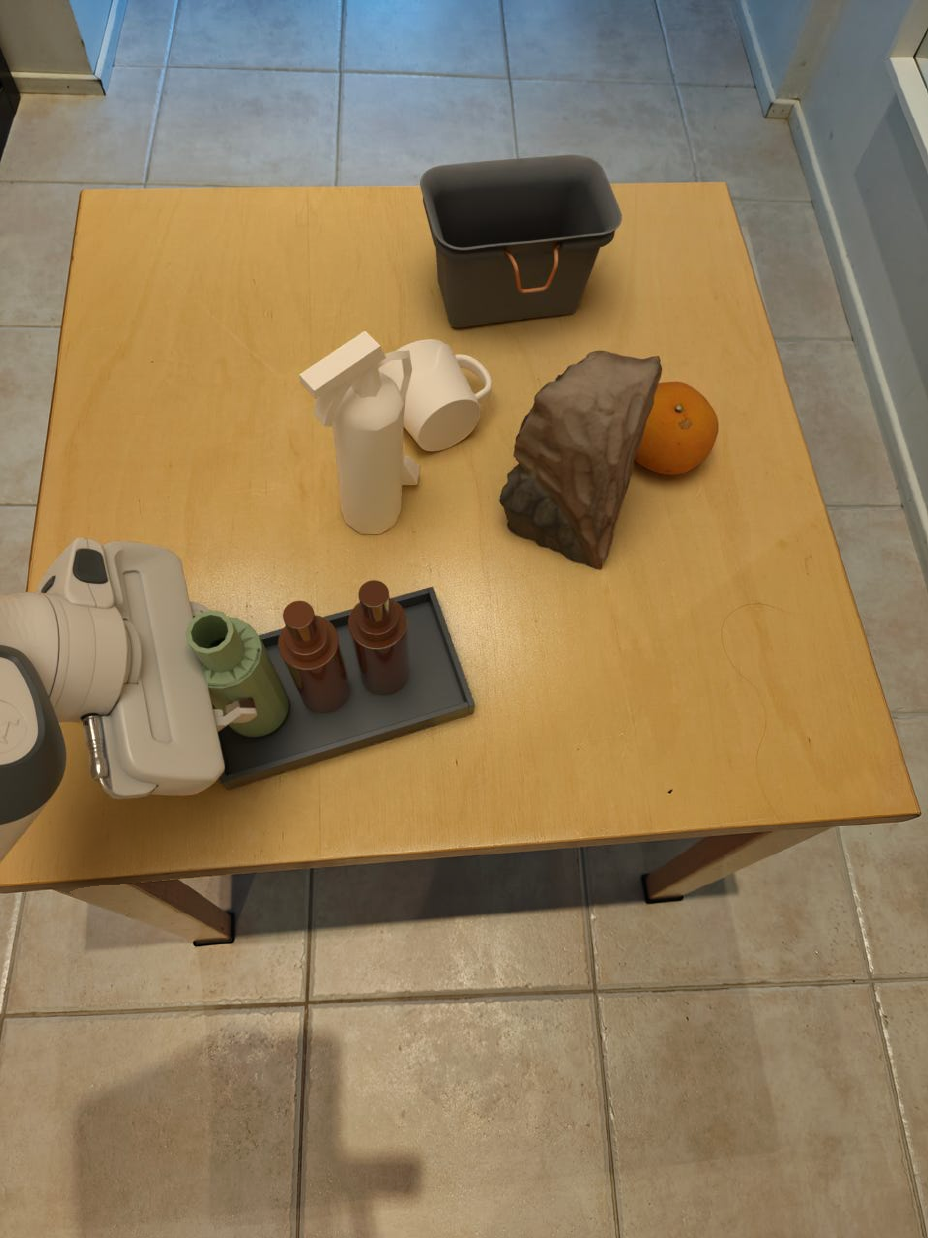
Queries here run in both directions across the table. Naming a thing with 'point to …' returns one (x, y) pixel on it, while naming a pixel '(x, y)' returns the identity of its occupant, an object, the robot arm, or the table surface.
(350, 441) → the fire extinguisher
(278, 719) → the green bottle
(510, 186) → the storage bin
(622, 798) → the table surface
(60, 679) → the robot arm
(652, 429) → the fruit
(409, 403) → the mug
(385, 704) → the tray
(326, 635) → the bottle row
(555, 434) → the brown rock chunk
